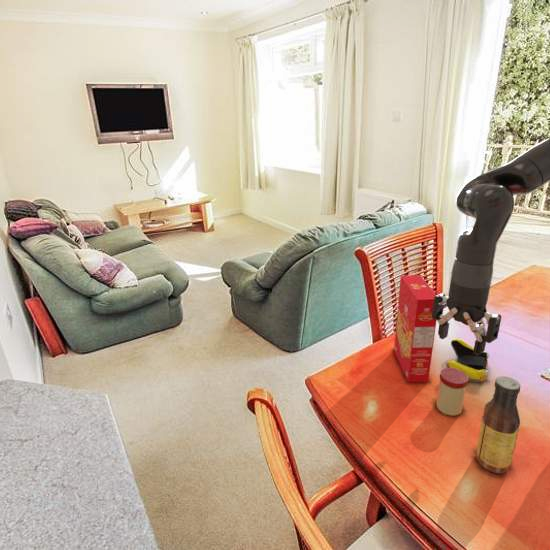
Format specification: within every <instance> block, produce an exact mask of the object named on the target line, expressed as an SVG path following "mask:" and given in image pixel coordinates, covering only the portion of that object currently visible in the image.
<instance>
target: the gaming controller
mask: <svg viewBox="0 0 550 550" xmlns="http://www.w3.org/2000/svg"><path fill="white" fill-rule="evenodd" d="M450 346H451V348H452V349H453V351H454V353H455V356H456V358H457V360H456V361H455V360H453V359H451V360H447V361H446V363H445V366H446V368H456V369H459V370H461V371H463V372H464V373H466V375H467V376H468V381H470V382H472V383H477V382H479V383H481V382H483V381H486V380H487V377H488V373H489V369H487V368H488V365H489V361H488V359H489V357H490V353H489V352H487V351H484V352H482V353H481V354H478V355H477V356H476V355H474V354H473V351H474V346H471V345H470V344H469V343H467V341H464V340H463V339H461V338H457V337H456V338H454V339H452V340H451V342H450Z"/></svg>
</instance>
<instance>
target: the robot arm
mask: <svg viewBox="0 0 550 550" xmlns="http://www.w3.org/2000/svg"><path fill="white" fill-rule="evenodd" d="M549 182H550V138H547V139H545V140H543V141H542V142H539V143H537V144H536V145H534V146H532V147H531V148H529V149H528V150H527V151H525V152H523V153H521V154H520V155H519V156H516V158H514V159H513V160H511V161H510V162H508V163H506V164H504V165H501V166H499V167H496V168H494V169H491V170H489V171H487V172H485V173H482V174H480V175H478V176H476V177H474V178H472V179H470V180H469V181H467V182H466V183H465V184H464V185H463V186H462V187H461V188H460V190H459V191H458V192H457V195H456V198H455V204H456V207H457V208H456V209H458V211H459V212H461V213H462V214H463V215H465V216H468V217H471V218H474V219H475V221H474V224H473V226H472V228H467V229H464V230H463V231H461V232H460V233H459V235H458V239H457V243H456V250H455V257H454V260H453V265H452V268H451V273H450V274H451V275H450V281H449V288H448V295H447V296H446V294H445V293H444V292H442V293H439V294H436V295H437V296H435V297H434V304H433V311H432V318H433V319H436V320H437V321H436V322H437V323H438V329H437V330H438V331H437V334H438V338H439V339H440V340H445V339H446V338H448V336H449V328H450V323H449V322H450V321H451V320H452V319H454V321H456V322H458V323H462V324H463V325H466V326H468V327H469V330H470V331H471V333H473V335H474V336H475V341H474V346H473V348H474V351H473V354H474V355H476V356H477V355H478V354H481V353H482V352H485V350H486V344H487V343H488V344H491V343H492V342H494V341H496V340H497V339H498V337H499V332H500V326H501V321H502V315H501V314H500V313H495V314H493V313H491V312H488V310H487V304H488V301H489V295H490V292H491V291H490V290H491V286H492V280H493V275H494V263H495V257H496V251H497V247H498V242H499V241H500V238H501V237H502V235H503V234H504V231H505V229H506V227H507V226H508V224H509V221H510V219H511V218H512V215H513V214H514V210H515V196H524V195H528V194H530V193H533V192H535V191H536V190H538V189H539V188H541V187H543V186H544V185H547V183H549ZM445 305H446V306H447V309H448V312H446V313H445V314H444V308H445ZM484 319H485V320H486V321H485V322H486V323H485V322H484ZM486 324H487V327H486Z"/></svg>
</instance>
